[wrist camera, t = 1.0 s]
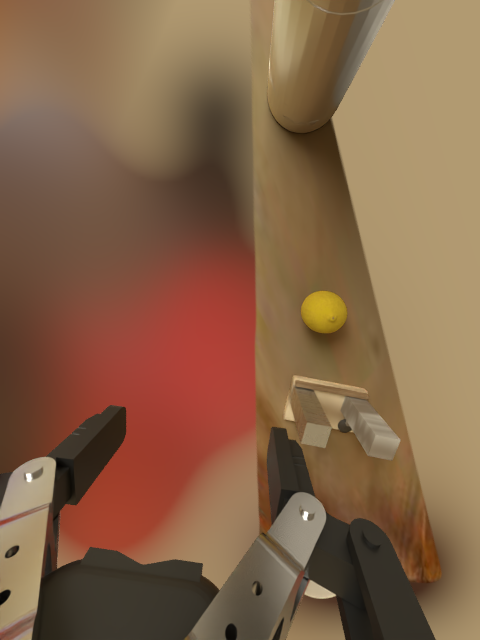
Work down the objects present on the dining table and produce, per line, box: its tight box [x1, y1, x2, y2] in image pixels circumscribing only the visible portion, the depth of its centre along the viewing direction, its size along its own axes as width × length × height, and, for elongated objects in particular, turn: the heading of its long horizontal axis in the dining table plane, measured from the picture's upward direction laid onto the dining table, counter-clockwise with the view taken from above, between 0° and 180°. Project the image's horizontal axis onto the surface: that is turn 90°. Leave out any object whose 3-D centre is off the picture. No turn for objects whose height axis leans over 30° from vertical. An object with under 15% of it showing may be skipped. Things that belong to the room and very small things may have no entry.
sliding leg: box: [290, 385, 332, 448], centre depth 32 cm, size 5×3×9 cm, turn 170°
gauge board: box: [283, 375, 401, 460], centre depth 33 cm, size 8×12×10 cm, turn 80°
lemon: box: [301, 291, 347, 333], centre depth 30 cm, size 6×6×8 cm
